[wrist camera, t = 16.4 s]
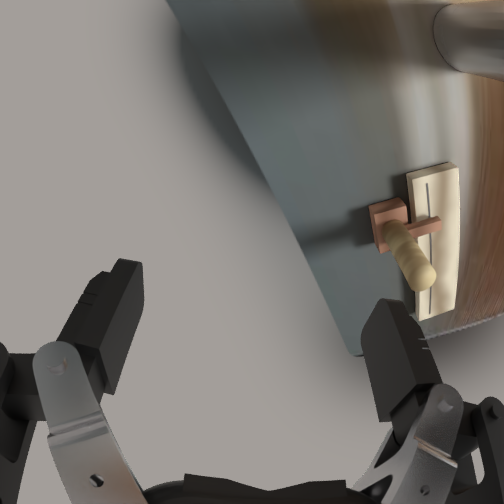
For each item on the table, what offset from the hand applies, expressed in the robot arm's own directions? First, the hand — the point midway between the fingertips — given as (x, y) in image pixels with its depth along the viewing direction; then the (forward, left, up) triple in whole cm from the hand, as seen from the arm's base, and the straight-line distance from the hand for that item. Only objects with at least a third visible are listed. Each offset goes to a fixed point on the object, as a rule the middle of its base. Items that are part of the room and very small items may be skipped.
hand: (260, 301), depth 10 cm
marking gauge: (-14, +17, -28) cm, 36 cm away
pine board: (-19, +24, -28) cm, 42 cm away
